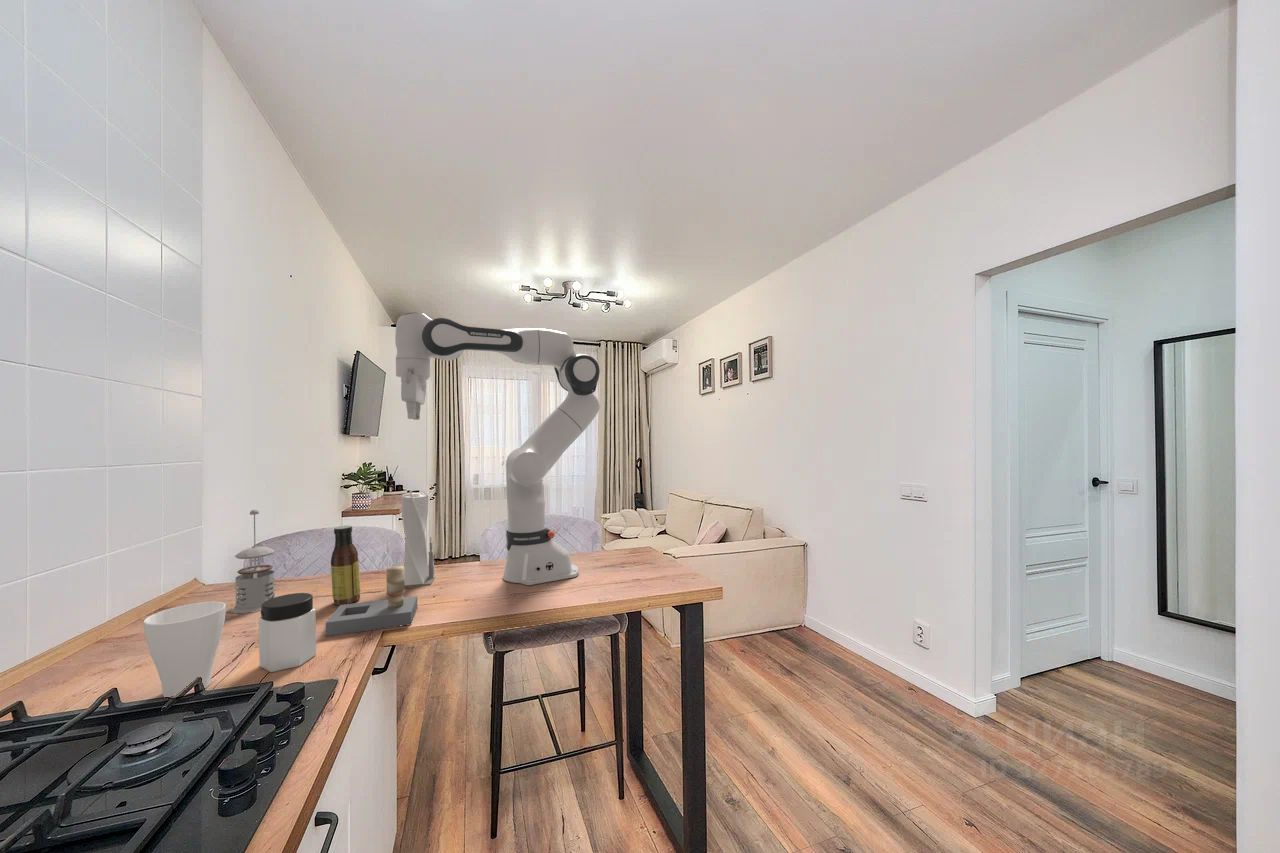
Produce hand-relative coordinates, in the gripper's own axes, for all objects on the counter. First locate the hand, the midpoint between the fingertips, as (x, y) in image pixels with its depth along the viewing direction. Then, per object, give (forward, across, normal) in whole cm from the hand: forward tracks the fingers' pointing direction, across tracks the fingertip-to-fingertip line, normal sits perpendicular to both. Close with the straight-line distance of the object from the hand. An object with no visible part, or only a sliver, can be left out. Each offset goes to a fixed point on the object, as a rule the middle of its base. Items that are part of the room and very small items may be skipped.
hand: (413, 419), depth 135 cm
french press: (+48, +1, +38) cm, 62 cm away
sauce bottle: (+48, -5, +16) cm, 51 cm away
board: (+48, -22, +6) cm, 53 cm away
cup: (+48, -44, +31) cm, 72 cm away
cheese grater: (+48, +5, 0) cm, 48 cm away
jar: (+48, -38, +18) cm, 64 cm away
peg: (+45, -22, +2) cm, 50 cm away
